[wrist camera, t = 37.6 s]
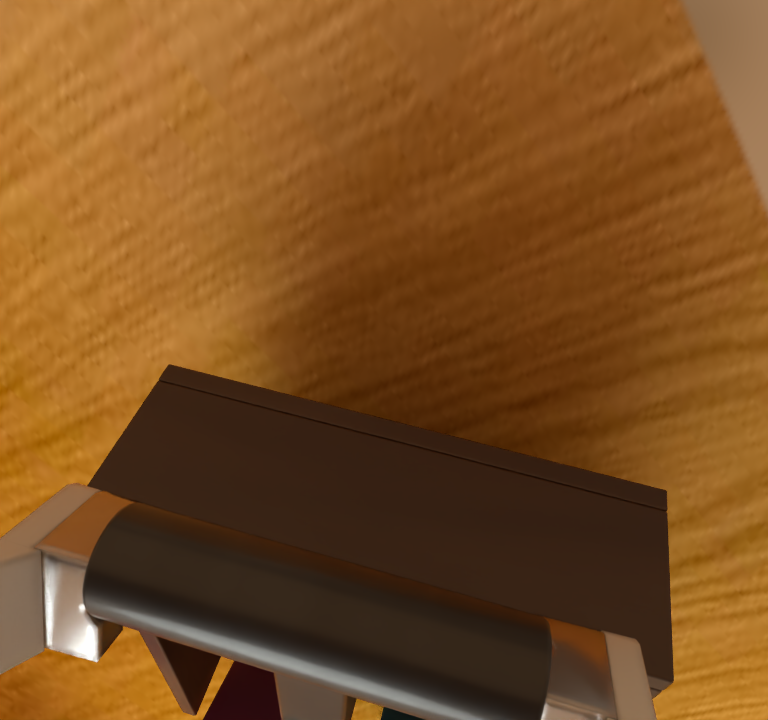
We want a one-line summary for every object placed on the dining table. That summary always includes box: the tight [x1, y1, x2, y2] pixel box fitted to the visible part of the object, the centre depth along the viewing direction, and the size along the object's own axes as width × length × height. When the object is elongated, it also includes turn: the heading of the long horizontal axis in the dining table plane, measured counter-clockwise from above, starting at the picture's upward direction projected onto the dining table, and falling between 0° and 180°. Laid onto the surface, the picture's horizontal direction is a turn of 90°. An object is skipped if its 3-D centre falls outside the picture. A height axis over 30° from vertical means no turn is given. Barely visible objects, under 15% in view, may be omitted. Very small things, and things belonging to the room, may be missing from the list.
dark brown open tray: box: [82, 364, 674, 720], centre depth 18 cm, size 21×13×8 cm, turn 170°
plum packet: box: [203, 661, 281, 720], centre depth 28 cm, size 6×4×2 cm
